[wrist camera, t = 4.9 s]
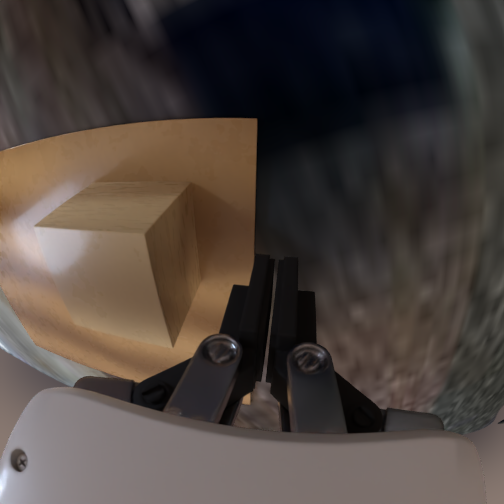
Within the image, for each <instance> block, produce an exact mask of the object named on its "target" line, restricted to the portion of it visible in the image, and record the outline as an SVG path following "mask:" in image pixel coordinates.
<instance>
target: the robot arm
mask: <svg viewBox="0 0 504 504" xmlns="http://www.w3.org/2000/svg"><path fill="white" fill-rule="evenodd" d="M274 261H275V259H270V255H262V254H256V256H255V260H254V265H253V269H252V273H251V278H250V282H249V286H246V285H236V284H234V285H233V287H232V290H231V293H230V297H229V300H228V303H227V307H226V310H225V314H224V317H223V320H222V324H221V327H220V331H219V334H213V335H210V336H208V337H206V338H205V339H203V340H202V342H201V343H200V344H199V346H198V348H197V350H196V351H195V353H194V355H193V357H191V358H189V359H187V360H185V361H183V362H181V363H179V364H177V365H175V366H173V367H171V368H169V369H166V370H164V371H162V372H160V373H158V374H156V375H154V376H151V377H149V378H147V379H145V380H143V381H142V382H134V380H129V379H115V378H103V377H93V376H86V377H83V378H80V379H79V380H78V381H77V382H76V383H75V385H74V387H73V388H72V387H58V388H57V387H56V388H50V389H45V390H43V391H40V392H39V393H38V394H36V395H35V396H34V397H33V398H32V400H31V401H30V402H29V403H28V405H27V406H26V408H25V409H24V411H23V412H22V414H21V416H20V417H19V419H18V421H17V423H16V425H15V427H14V429H13V431H12V433H11V435H10V437H9V440H8V442H7V445H6V447H5V449H4V452H3V454H2V457H1V459H0V504H486V491H485V481H484V474H483V469H482V464H481V460H480V457H479V454H478V451H477V449H476V447H475V445H474V444H473V443H472V441H470V440H469V439H468V438H466V437H464V436H462V435H460V434H457V433H454V432H451V431H445V430H444V424H443V422H442V420H441V419H440V418H439V417H438V416H437V415H434V414H431V413H422V412H414V411H407V410H400V409H393V408H387V409H386V410H384V409H380V408H379V407H378V406H377V405H376V404H375V403H373V402H372V401H371V400H370V399H368V398H367V397H366V396H365V395H363V394H362V393H361V392H360V391H358V390H357V389H356V388H355V387H354V386H352V385H351V384H350V383H349V382H348V381H346V380H345V379H344V378H343V377H341V376H340V375H339V374H338V373H337V372H335V371H334V367H333V362H332V358H331V356H330V353H329V352H328V351H327V350H326V349H325V348H324V347H322V346H321V345H319V344H317V339H316V308H315V293H314V292H312V291H300V290H298V258H297V257H284V260H279V264H278V273H277V282H276V291H275V300H274V309H273V317H272V326H271V335H270V345H269V355H268V365H267V374H266V382H268V383H271V392H270V393H271V394H272V395H273V396H274V397H275V398H276V399H277V400H278V411H279V425H280V432H278V431H267V430H257V429H249V428H241V427H234V426H233V425H234V423H235V420H236V417H237V415H238V412H239V410H240V407H241V404H242V402H243V397H244V396H246V395H247V394H249V393H251V392H252V391H253V389H255V382H256V381H259V382H261V379H262V372H263V365H264V358H265V351H266V343H267V336H268V328H269V320H270V312H271V301H272V288H273V275H274Z"/></svg>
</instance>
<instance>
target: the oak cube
mask: <svg viewBox="0 0 504 504" xmlns="http://www.w3.org/2000/svg"><path fill="white" fill-rule="evenodd" d="M33 228H34V231H35V234H36V236H37V239H38V242H39V245H40V248H41V250H42V253H43V256H44V258H45V261H46V263H47V266H48V268H49V271H50V273H51V275H52V278H53V280H54V282H55V284H56V287H57V289H58V291H59V293H60V295H61V297H62V300H63V302H64V304H65V306H66V308H67V310H68V312H69V314H70V316H71V318H72V320H73V321H74V323H75V324H76V325H79V326H82V327H86V328H89V329H93V330H96V331H100V332H103V333H107V334H111V335H115V336H119V337H123V338H127V339H131V340H135V341H140V342H144V343H148V344H153V345H158V346H163V347H168V348H174V346H175V343H176V341H177V338H178V336H179V333H180V331H181V328H182V326H183V323H184V321H185V318H186V316H187V314H188V311H189V309H190V306H191V304H192V302H193V299H194V297H195V294H196V292H197V290H198V287H199V285H200V283H201V276H200V268H199V258H198V249H197V239H196V229H195V217H194V206H193V193H192V182H175V181H137V182H98V183H92V184H90V185H89V186H87V187H86V188H84V189H83V190H81V191H80V192H78V193H77V194H76V195H74V196H73V197H71V198H70V199H69V200H67V201H66V202H64V203H63V204H62V205H60V206H59V207H58V208H56V209H55V210H54V211H52V212H51V213H50V214H48V215H47V216H46V217H44V218H43V219H42V220H41V221H39V222H38V223H37V224H36V225H34V226H33Z"/></svg>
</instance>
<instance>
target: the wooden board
mask: <svg viewBox="0 0 504 504" xmlns="http://www.w3.org/2000/svg"><path fill="white" fill-rule="evenodd" d="M257 120H258V119H257V118H192V119H173V120H159V121H148V122H138V123H129V124H121V125H114V126H107V127H100V128H94V129H88V130H83V131H78V132H72V133H68V134H63V135H58V136H54V137H49V138H45V139H41V140H37V141H33V142H30V143H26V144H22V145H19V146H15V147H12V148H9V149H6V150H2V151H0V286H1V288H2V290H3V292H4V294H5V295H6V297H7V299H8V301H9V303H10V304H11V306H12V308H13V310H14V311H15V313H16V315H17V316H18V318H19V320H20V321H21V323H22V325H23V326H24V328H25V329H26V331H27V333H28V334H29V336H30V337H31V339H32V340H33V342H34V343H35V344H36V345H37V346H39V347H41V348H44V349H46V350H48V351H50V352H53V353H55V354H57V355H60V356H62V357H65V358H67V359H70V360H72V361H75V362H77V363H80V364H83V365H86V366H88V367H91V368H94V369H97V370H100V371H103V372H106V373H109V374H112V375H115V376H118V377H121V378H125V379H129V380H134V381H135V382H142V381H143V380H145V379H147V378H149V377H151V376H154V375H156V374H158V373H160V372H162V371H164V370H166V369H169V368H171V367H173V366H175V365H177V364H179V363H181V362H183V361H185V360H187V359H189V358H191V357H193V355H194V353H195V351H196V350H197V348H198V346H199V344H200V343H201V342H202V340H203V339H205V338H206V337H208V336H210V335H213V334H219V331H220V327H221V324H222V320H223V317H224V314H225V310H226V307H227V303H228V300H229V297H230V293H231V290H232V287H233V285H234V284H236V285H246V286H249V282H250V278H251V273H252V269H253V265H254V248H255V207H256V164H257ZM137 181H175V182H192V193H193V206H194V217H195V229H196V239H197V249H198V258H199V268H200V276H201V283H200V285H199V287H198V290H197V292H196V294H195V297H194V299H193V302H192V304H191V306H190V309H189V311H188V314H187V316H186V318H185V321H184V323H183V326H182V328H181V331H180V333H179V336H178V338H177V341H176V343H175V346H174V348H168V347H163V346H158V345H153V344H148V343H144V342H140V341H135V340H131V339H127V338H123V337H119V336H115V335H111V334H107V333H103V332H100V331H96V330H93V329H89V328H86V327H82V326H79V325H76V324H75V323H74V321H73V320H72V318H71V316H70V314H69V312H68V310H67V308H66V306H65V304H64V302H63V300H62V297H61V295H60V293H59V291H58V289H57V287H56V284H55V282H54V280H53V278H52V275H51V273H50V271H49V268H48V266H47V263H46V261H45V258H44V256H43V253H42V250H41V248H40V245H39V242H38V239H37V236H36V234H35V231H34V228H33V226H34V225H36V224H37V223H38V222H39V221H41V220H42V219H43V218H44V217H46V216H47V215H48V214H50V213H51V212H52V211H54V210H55V209H56V208H58V207H59V206H60V205H62V204H63V203H64V202H66V201H67V200H69V199H70V198H71V197H73V196H74V195H76V194H77V193H78V192H80V191H81V190H83V189H84V188H86V187H87V186H89V185H90V184H92V183H98V182H137ZM250 398H251V393H249V394H247V395H246V396H244V397H243V402H242V404H250Z"/></svg>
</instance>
